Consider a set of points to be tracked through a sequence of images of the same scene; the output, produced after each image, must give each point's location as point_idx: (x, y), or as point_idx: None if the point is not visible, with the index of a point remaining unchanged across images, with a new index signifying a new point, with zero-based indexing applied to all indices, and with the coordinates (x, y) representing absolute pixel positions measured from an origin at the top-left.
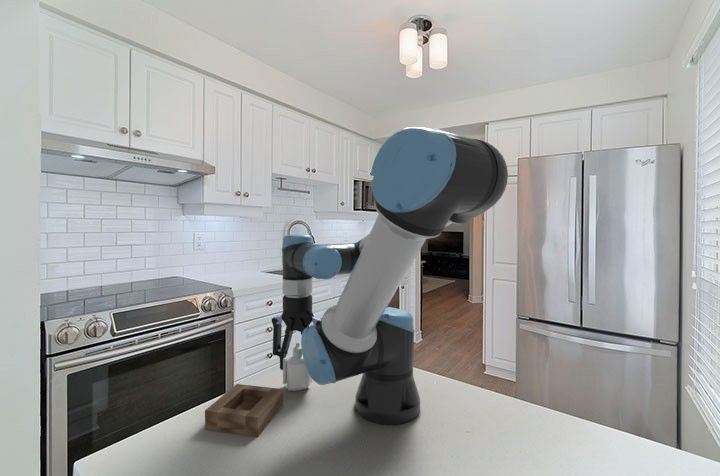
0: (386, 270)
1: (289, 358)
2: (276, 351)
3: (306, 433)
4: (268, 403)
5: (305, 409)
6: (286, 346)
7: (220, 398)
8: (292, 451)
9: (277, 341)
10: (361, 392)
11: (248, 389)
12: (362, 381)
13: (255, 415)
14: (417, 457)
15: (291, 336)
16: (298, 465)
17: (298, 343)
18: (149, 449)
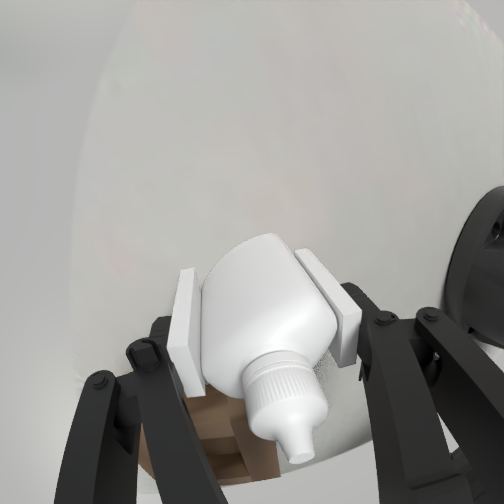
0: None
1: (226, 390)
2: (137, 433)
3: (357, 409)
4: (273, 457)
5: (331, 362)
6: (208, 461)
7: (146, 468)
8: (345, 437)
9: (135, 492)
10: (482, 333)
11: None
12: (501, 335)
13: (271, 476)
14: (488, 355)
15: (219, 497)
16: (360, 442)
17: (310, 454)
18: (142, 481)
